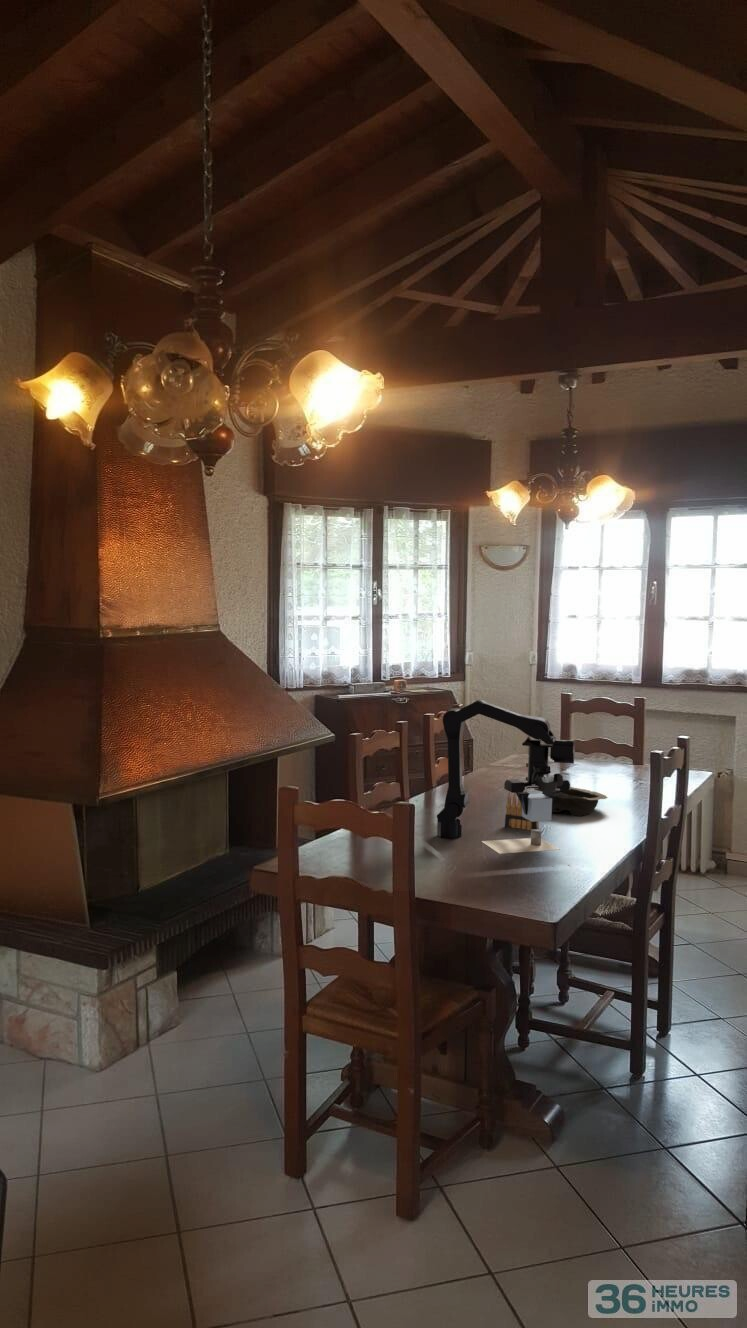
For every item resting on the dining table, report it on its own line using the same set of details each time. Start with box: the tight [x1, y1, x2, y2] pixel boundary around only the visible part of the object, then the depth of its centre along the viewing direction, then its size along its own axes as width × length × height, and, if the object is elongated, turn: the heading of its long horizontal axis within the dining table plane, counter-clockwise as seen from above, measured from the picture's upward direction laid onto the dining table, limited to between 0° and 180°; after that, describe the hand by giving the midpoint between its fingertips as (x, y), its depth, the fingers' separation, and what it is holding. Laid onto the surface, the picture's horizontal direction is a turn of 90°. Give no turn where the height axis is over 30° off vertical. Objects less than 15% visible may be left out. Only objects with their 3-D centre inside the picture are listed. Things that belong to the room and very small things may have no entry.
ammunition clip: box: [504, 791, 540, 831], centre depth 283 cm, size 11×2×12 cm, turn 60°
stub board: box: [481, 829, 561, 855], centre depth 263 cm, size 19×13×5 cm
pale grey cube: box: [522, 793, 553, 822], centre depth 264 cm, size 6×6×6 cm
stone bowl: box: [533, 786, 609, 817], centre depth 312 cm, size 25×25×9 cm
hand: (536, 814), depth 264 cm, fingers closed on pale grey cube, 6 cm apart
